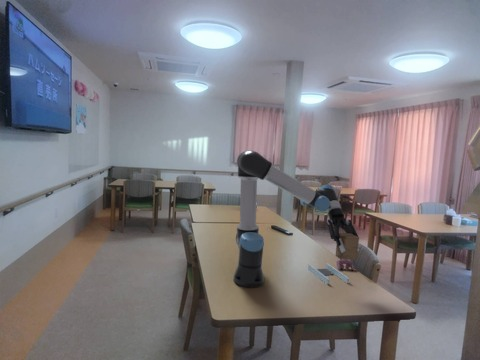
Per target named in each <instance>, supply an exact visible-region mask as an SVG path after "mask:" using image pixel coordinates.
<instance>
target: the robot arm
mask: <svg viewBox="0 0 480 360" xmlns="http://www.w3.org/2000/svg"><path fill="white" fill-rule="evenodd" d="M236 161H237V162H236V164H237V177H238V178H239V179H240V201H239V203H240V204H239V206H240V207H239V212H240V213H239V224H237V226H236V235H235V242H236V246H237V248H238V262H237V263H238V264H237V267H236V269H235V272H234V274H233V282H234V283H235V284H236V285H238V286H240V287H245V288H251V289H252V288H258V287H261V286H263V284H264V282H265V276H264V272H263V269H262V268H263V267H262V264H263V257H264V256H263V253H264V246H265V241H264V237H263V235H261V234H260V233H259V226H258V224H257V196H258V195H257V192H258V191H257V189H258V179H260V180H262V181H264V180H265V181H267V182H269V183H270V184H272V185H274V186H276V187H278V188H279V189H281V190H283V191H285V192H286V193H288V194H290V195H291V196H293V197H295V198H297V199H299V201H300V205H301V206H304V207H308V206H309V207H312V208H314V209H316V211H319V212H326V213H327V215H328V218H329V219H328V220H327V221H326V225H327V227H328V232H329V237H330V239H331V240H333V242H335V243H336V246H337V245H338V246H339V248H340V251H341V253H343V252H344V251H346V250H345V248H344V245H343V243H342V240H341V238H339V233H340V228H341V229H342V230H343V231H344V233H351V234H353V235H355V236H357V237H359V235H358V233H357V230H356V229H355V227H354V225H353V223H352V220H351V219H349V220H348V219H346V218H345V213H344V211H343V209H342V205H341V203H340V202H339V199H338V196H337V193H336V190H335V189H334V188H333V187H334V186H333V185H331V184H324V185H322V186H320V187H319V189H318V190H315V189H312V188H311V187H309V186H308V185H306V184H304V183H303V182H301V181H300V180H298V179H296V178H294V177H292V176H290V175H289V174H287V173H286V172H285V171H282V170H281V169H280V168H277V167H275V166H274V164H273V163H272V162H271V161H269V160H268V159H267V158H265V157H264V156H263V155H261V153H259V152H257V151H254V150H245V151H242V152H241V153H239V155H238V156H237V160H236ZM359 251H360V249H359V247H358V250H357V253H358V252H359Z"/></svg>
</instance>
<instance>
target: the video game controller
mask: <svg viewBox="0 0 480 360" xmlns="http://www.w3.org/2000/svg"><path fill="white" fill-rule="evenodd" d="M335 263H336V266H337V270H338V271H340V270H341V268H342V269H344V268H345V269H346V270H349V269H351V271H352V270H353V272H354V271H355V266H354V262H353V261H352V260H343V259H342V258H339V259H337V260H336V262H335Z"/></svg>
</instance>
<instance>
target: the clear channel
mask: <svg viewBox="0 0 480 360" xmlns="http://www.w3.org/2000/svg"><path fill="white" fill-rule="evenodd" d="M327 269H328V270H327ZM307 270H308V271H309V272H310V273H312V274H313V275H314V276H316V277H317V278H318V279H319V280H320V281H322V282H323V283H324V282H325V283H326V285H327V284H329V285H330V279H329V278H328V277H327V276H332V275H331V273H332V274H333V273H334V274H335V275H334V276H336V275H337V276H338V277H340V278H341V279H342V280H341V279H340V278H339V279H340V280H341V281H343V280H344V281H345V282H347V283H348V284H349V282H350V278H349V277H348V276H347V275H345V274H343V272H341V271H340V270H338V269H336V268H335V267H334V266H332V265H331V264H329V263H328V262H327V263H326V264H325V268H315V267H314V266H313V265H312V264H310V263H308V266H307ZM330 271H331V272H330ZM337 276H336V277H337ZM338 277H337V278H338ZM344 281H343V282H344ZM345 282H344V283H345ZM325 283H324V284H325ZM347 283H346V284H347Z"/></svg>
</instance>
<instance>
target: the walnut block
mask: <svg viewBox="0 0 480 360" xmlns="http://www.w3.org/2000/svg"><path fill="white" fill-rule="evenodd" d="M339 238H341V240H342V243H343V245H344V248H345V250H346V251H344V252H343V253H341V251H340V248H339V246H338V245H337V244H336V248H335V254H334V255H336V257H339V259H343V260H351V261H352V260H357V257H358V252H357V250H358V248H359V242H360V241H359V240H360V237H359V236H358V237H357V236H355V235H353V234H351V233H346V232H339Z"/></svg>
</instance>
